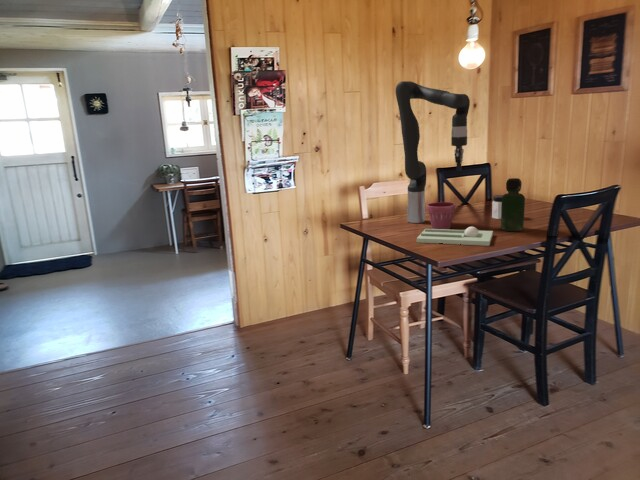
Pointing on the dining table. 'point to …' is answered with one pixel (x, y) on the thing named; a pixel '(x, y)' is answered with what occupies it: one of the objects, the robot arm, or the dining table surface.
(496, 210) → the jar
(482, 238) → the putting mat
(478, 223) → the dining table surface
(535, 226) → the dining table surface
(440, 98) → the robot arm
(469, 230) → the ball
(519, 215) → the dark green tall piece
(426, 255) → the dining table surface
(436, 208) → the plant pot
